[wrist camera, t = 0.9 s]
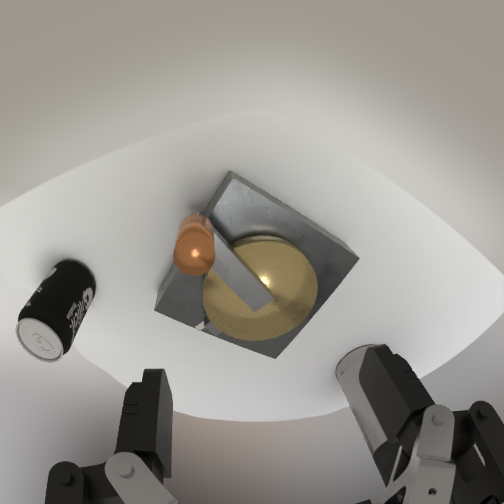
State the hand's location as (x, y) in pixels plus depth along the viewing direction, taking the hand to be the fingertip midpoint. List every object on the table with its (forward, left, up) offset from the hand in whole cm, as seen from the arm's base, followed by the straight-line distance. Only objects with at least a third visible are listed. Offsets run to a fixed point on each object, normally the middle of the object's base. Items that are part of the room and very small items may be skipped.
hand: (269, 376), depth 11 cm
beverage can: (+12, +19, -25) cm, 33 cm away
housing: (-7, +6, -24) cm, 26 cm away
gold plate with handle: (-4, +5, -20) cm, 21 cm away
